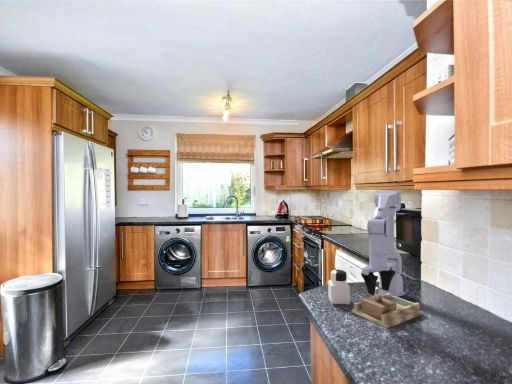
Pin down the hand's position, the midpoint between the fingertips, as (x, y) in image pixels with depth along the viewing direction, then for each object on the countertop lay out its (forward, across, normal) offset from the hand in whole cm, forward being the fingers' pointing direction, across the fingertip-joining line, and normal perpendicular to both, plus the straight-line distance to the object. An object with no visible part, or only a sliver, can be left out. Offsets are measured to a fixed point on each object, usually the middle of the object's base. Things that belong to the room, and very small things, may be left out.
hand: (378, 292), depth 97 cm
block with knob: (+7, 0, 0) cm, 7 cm away
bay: (+8, +5, 0) cm, 10 cm away
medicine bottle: (+9, -1, +17) cm, 19 cm away
